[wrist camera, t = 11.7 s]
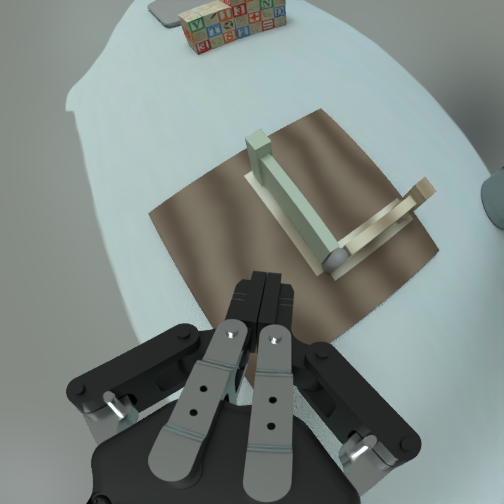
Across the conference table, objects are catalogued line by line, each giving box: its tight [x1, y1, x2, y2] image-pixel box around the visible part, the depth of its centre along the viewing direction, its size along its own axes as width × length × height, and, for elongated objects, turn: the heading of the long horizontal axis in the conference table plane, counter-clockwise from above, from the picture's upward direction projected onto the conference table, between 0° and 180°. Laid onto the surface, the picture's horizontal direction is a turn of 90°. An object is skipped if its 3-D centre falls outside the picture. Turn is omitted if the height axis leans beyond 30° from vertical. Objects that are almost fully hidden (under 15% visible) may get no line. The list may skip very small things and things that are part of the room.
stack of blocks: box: [178, 0, 286, 54], centre depth 39 cm, size 21×6×12 cm, turn 118°
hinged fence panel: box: [245, 129, 348, 273], centre depth 29 cm, size 16×2×8 cm, turn 32°
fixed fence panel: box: [343, 177, 436, 259], centre depth 28 cm, size 12×2×8 cm, turn 123°
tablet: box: [147, 0, 217, 27], centre depth 51 cm, size 16×26×2 cm, turn 29°
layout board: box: [148, 109, 439, 389], centre depth 34 cm, size 30×27×1 cm
